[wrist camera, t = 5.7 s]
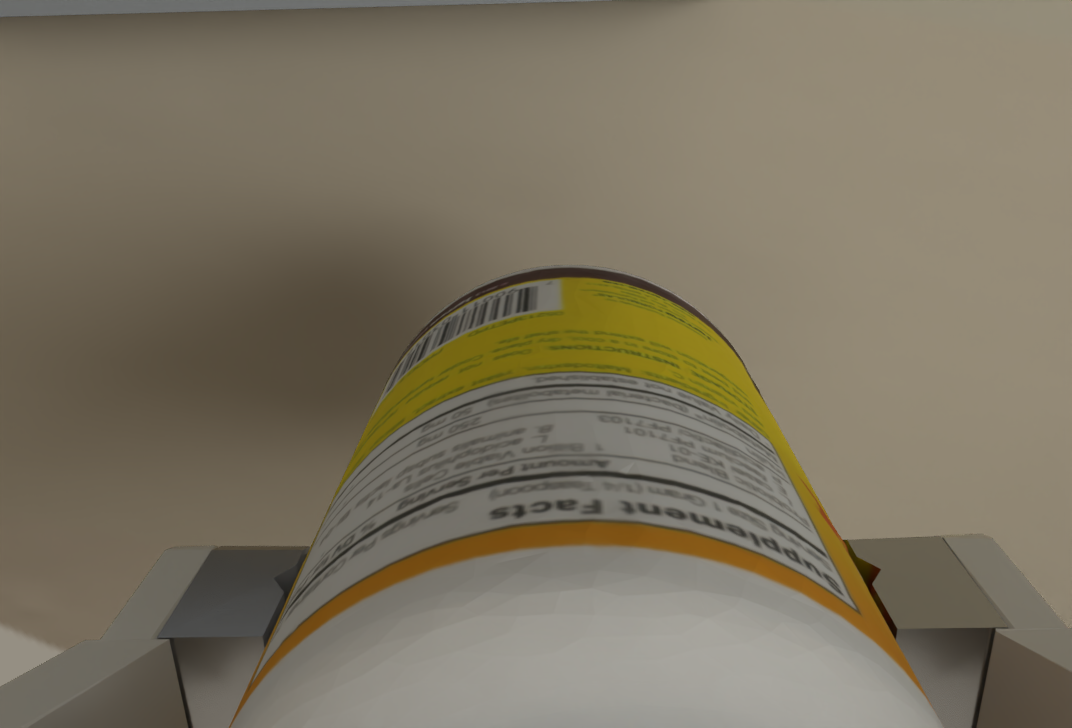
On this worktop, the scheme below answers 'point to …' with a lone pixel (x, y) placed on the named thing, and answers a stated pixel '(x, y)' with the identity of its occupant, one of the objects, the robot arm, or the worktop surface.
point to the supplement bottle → (577, 539)
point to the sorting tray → (209, 5)
